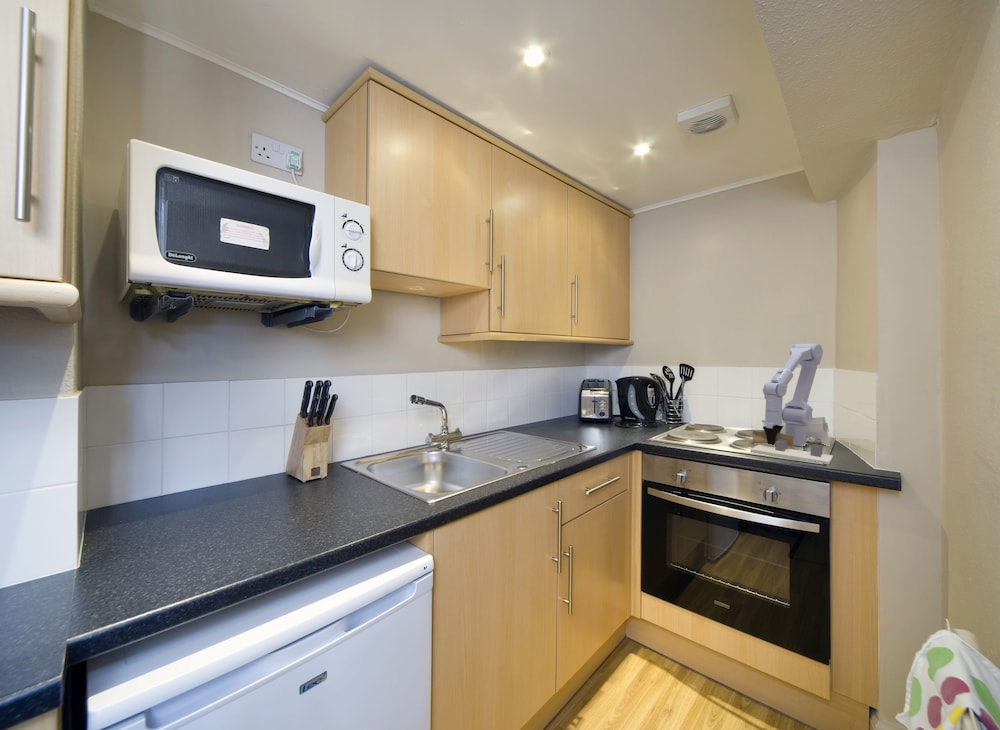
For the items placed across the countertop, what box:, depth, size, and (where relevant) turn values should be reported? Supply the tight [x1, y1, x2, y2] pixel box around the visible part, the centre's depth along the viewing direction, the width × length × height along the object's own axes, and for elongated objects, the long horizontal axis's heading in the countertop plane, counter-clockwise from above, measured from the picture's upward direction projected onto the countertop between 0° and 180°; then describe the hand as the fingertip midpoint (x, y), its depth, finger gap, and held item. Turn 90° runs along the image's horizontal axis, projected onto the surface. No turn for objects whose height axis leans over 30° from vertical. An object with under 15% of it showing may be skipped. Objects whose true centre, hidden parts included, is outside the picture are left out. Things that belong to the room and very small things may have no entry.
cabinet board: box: [750, 439, 834, 465], centre depth 154 cm, size 13×24×4 cm, turn 46°
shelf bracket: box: [762, 416, 831, 447], centre depth 182 cm, size 6×25×13 cm, turn 25°
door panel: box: [751, 429, 794, 450], centre depth 167 cm, size 2×14×6 cm, turn 46°
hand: (772, 443), depth 167 cm, fingers open, 5 cm apart
